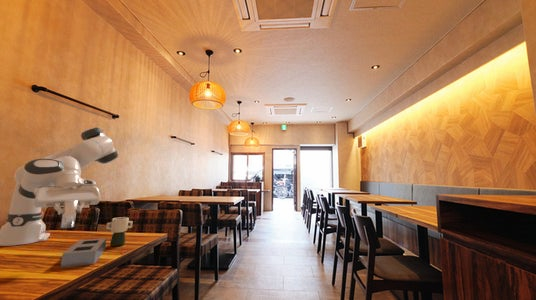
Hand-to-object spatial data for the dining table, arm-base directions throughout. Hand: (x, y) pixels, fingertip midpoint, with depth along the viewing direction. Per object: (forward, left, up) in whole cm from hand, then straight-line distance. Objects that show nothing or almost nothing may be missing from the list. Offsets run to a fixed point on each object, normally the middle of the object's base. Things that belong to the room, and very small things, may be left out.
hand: (70, 212), depth 87 cm
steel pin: (0, 0, -5) cm, 5 cm away
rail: (-6, +5, -19) cm, 21 cm away
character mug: (-22, +14, -19) cm, 33 cm away
